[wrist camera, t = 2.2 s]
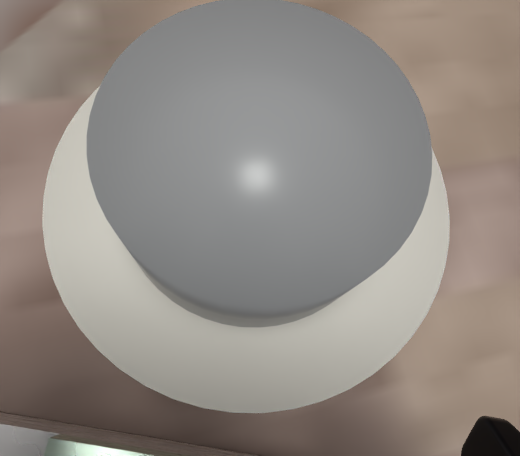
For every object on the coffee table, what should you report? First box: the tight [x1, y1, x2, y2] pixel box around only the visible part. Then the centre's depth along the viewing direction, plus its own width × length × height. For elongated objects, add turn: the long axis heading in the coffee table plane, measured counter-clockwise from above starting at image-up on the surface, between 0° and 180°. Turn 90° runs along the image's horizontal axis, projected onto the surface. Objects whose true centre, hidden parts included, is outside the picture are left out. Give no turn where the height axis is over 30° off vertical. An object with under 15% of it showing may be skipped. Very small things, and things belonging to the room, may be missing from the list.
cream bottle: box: [42, 0, 450, 413], centre depth 11 cm, size 5×5×14 cm
